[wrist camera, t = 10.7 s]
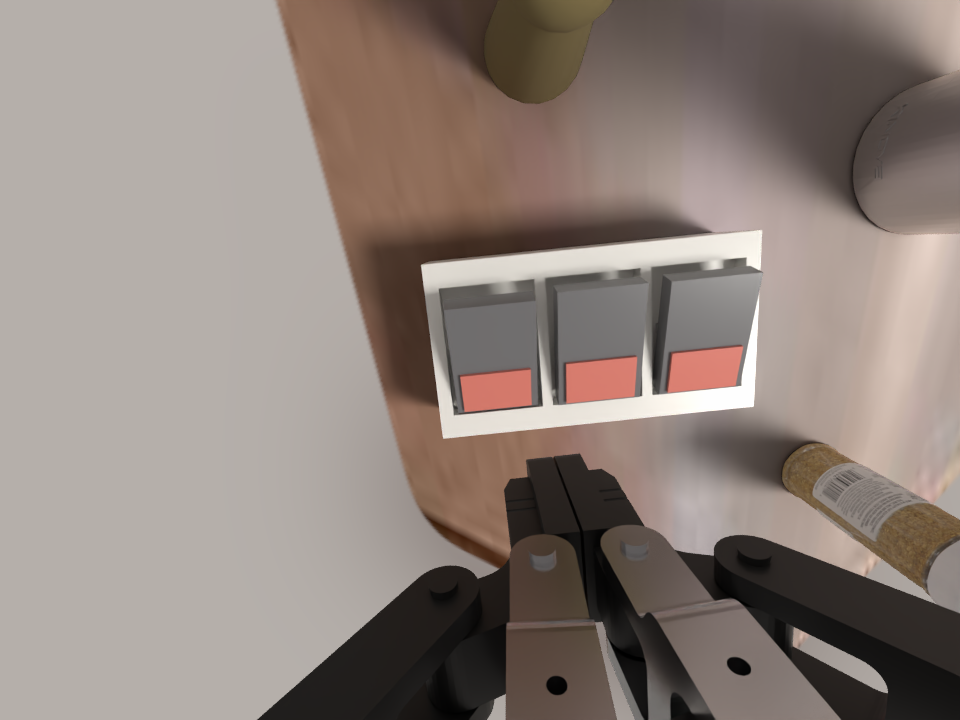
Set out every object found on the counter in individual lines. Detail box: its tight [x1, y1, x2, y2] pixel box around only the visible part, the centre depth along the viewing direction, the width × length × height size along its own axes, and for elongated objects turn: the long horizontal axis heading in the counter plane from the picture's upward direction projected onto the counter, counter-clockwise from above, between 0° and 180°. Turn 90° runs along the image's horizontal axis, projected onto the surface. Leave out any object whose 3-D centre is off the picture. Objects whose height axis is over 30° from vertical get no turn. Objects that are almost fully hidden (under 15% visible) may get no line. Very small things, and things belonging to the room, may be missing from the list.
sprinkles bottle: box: [782, 443, 960, 613], centre depth 29 cm, size 5×5×14 cm
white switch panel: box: [421, 230, 762, 439], centre depth 29 cm, size 19×10×5 cm, turn 96°
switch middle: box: [553, 277, 649, 405], centre depth 26 cm, size 5×7×1 cm
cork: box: [484, 0, 613, 104], centre depth 22 cm, size 6×6×11 cm
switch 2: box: [652, 266, 763, 395], centre depth 26 cm, size 5×7×1 cm
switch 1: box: [444, 291, 538, 413], centre depth 26 cm, size 5×7×1 cm
